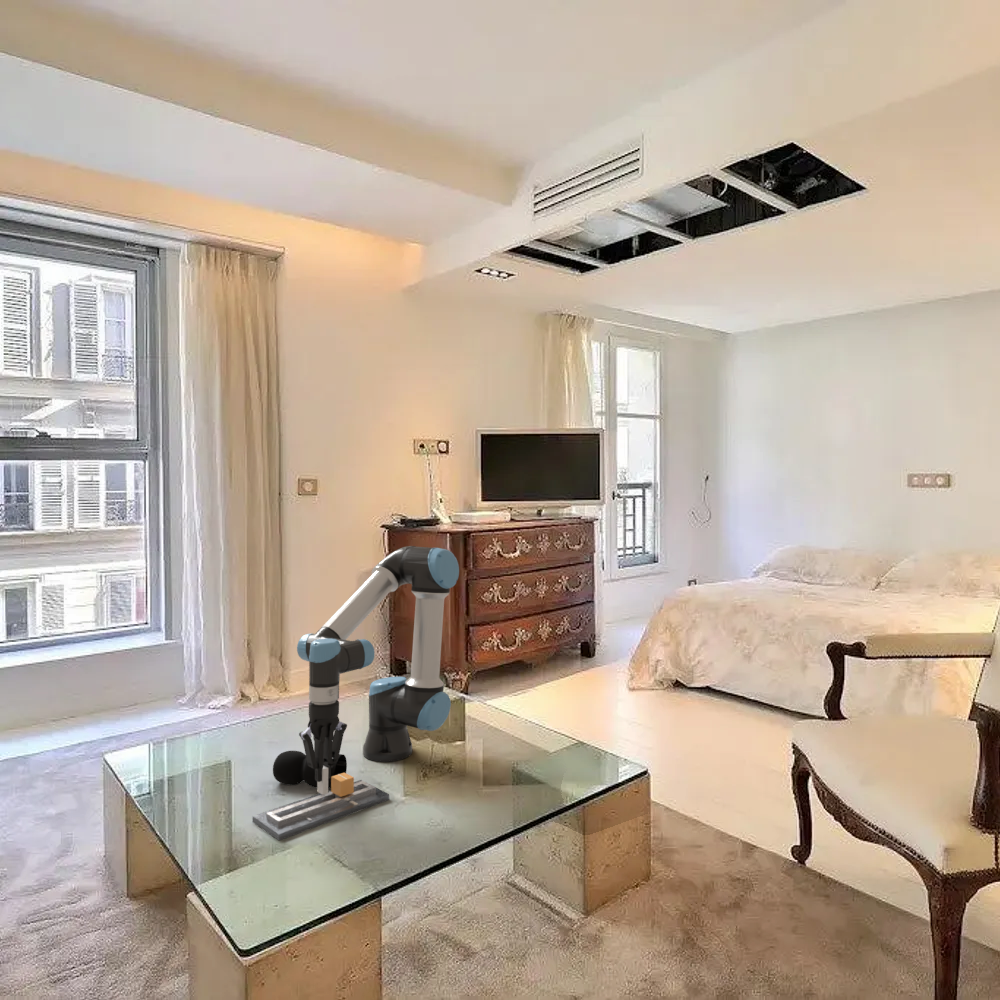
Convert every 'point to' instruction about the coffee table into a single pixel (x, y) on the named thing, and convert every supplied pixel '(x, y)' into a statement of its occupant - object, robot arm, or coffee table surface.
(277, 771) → the black hourglass-shaped sleeve
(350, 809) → the fader panel
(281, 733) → the coffee table surface
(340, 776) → the fader knob
